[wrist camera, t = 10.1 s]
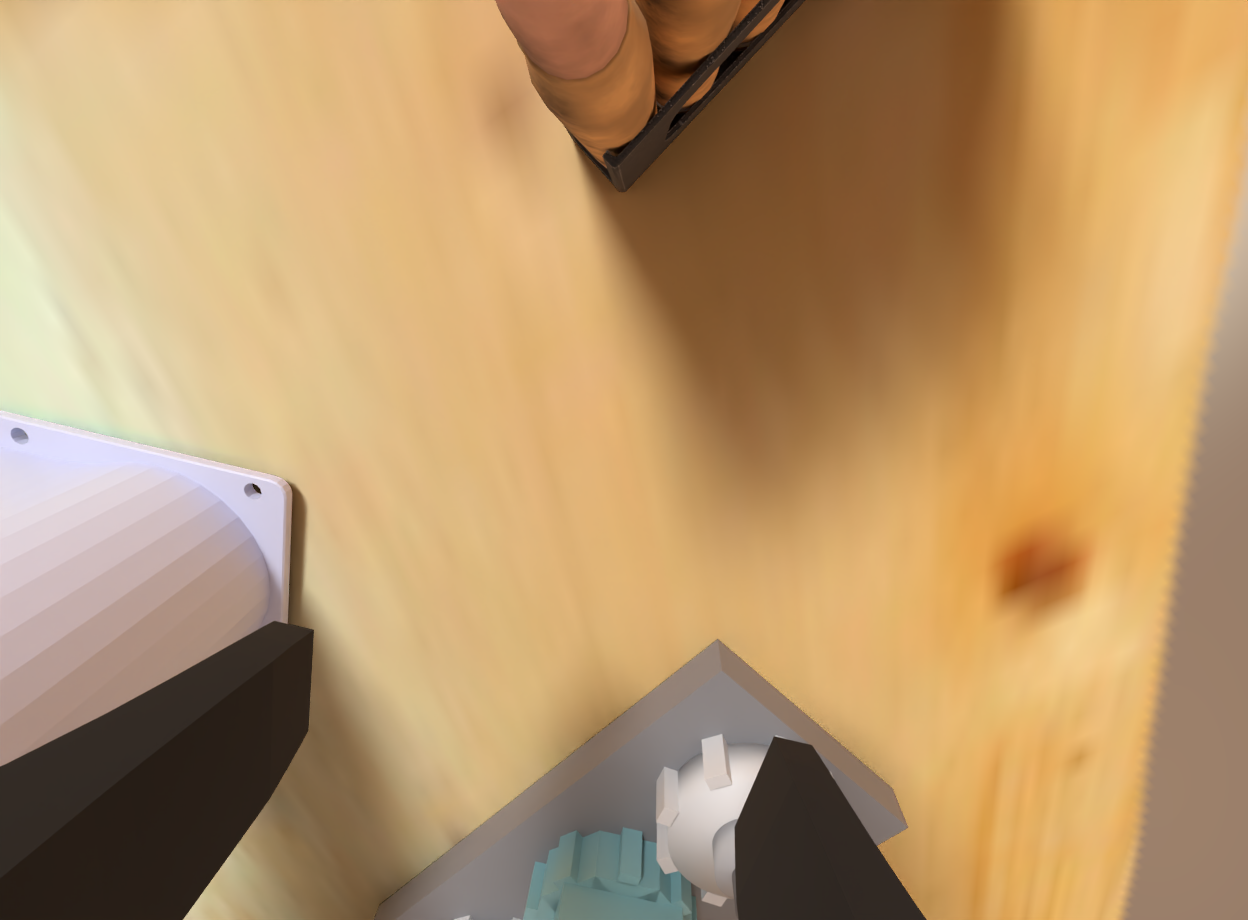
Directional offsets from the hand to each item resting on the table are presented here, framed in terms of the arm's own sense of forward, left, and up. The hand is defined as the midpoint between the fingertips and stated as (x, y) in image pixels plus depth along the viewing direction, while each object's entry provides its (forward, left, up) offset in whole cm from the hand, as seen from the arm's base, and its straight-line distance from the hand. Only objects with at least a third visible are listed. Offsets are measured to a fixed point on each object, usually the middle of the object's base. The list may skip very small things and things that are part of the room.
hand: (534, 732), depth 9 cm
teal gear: (+4, -15, -8) cm, 17 cm away
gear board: (+4, -15, -9) cm, 18 cm away
